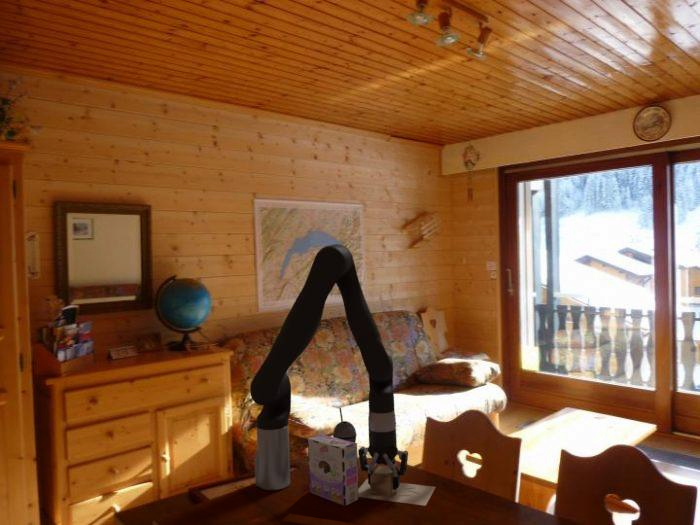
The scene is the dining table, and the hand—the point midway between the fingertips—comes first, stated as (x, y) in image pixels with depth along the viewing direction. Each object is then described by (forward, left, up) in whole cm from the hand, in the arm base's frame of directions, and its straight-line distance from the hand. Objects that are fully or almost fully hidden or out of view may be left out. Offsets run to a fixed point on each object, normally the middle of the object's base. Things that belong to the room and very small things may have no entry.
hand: (384, 487), depth 150 cm
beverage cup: (-16, +12, -2) cm, 20 cm away
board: (+3, 0, -2) cm, 4 cm away
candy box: (-12, -7, -2) cm, 14 cm away
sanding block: (0, 0, -1) cm, 1 cm away
